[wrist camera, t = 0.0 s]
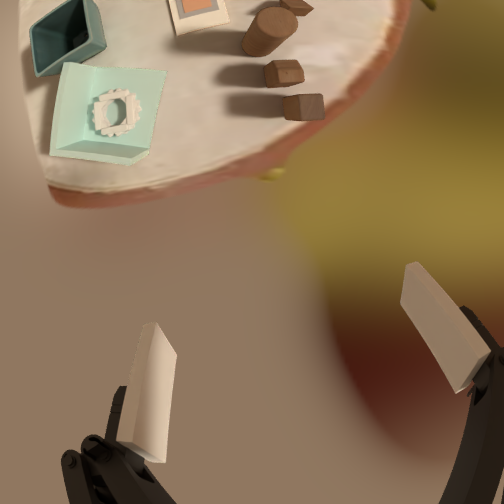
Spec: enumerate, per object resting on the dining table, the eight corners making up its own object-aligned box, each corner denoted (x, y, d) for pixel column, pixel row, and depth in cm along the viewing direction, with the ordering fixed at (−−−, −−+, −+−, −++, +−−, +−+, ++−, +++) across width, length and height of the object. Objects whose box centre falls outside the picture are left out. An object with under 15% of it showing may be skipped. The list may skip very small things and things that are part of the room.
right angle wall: (148, 154, 34) (130, 165, 27) (77, 145, 32) (49, 155, 25) (167, 71, 28) (152, 62, 22) (90, 67, 26) (63, 62, 20)
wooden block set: (315, 117, 33) (351, 120, 24) (253, 123, 33) (271, 125, 24) (297, 3, 25) (326, -25, 16) (234, 4, 24) (245, -30, 15)
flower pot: (111, 7, 21) (83, -11, 14) (121, 52, 26) (92, 40, 18) (62, 36, 22) (28, 27, 14) (70, 80, 26) (35, 79, 18)
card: (165, -17, 21) (164, -18, 20) (215, -29, 21) (215, -31, 20) (177, 36, 26) (176, 35, 25) (229, 23, 26) (229, 21, 25)
